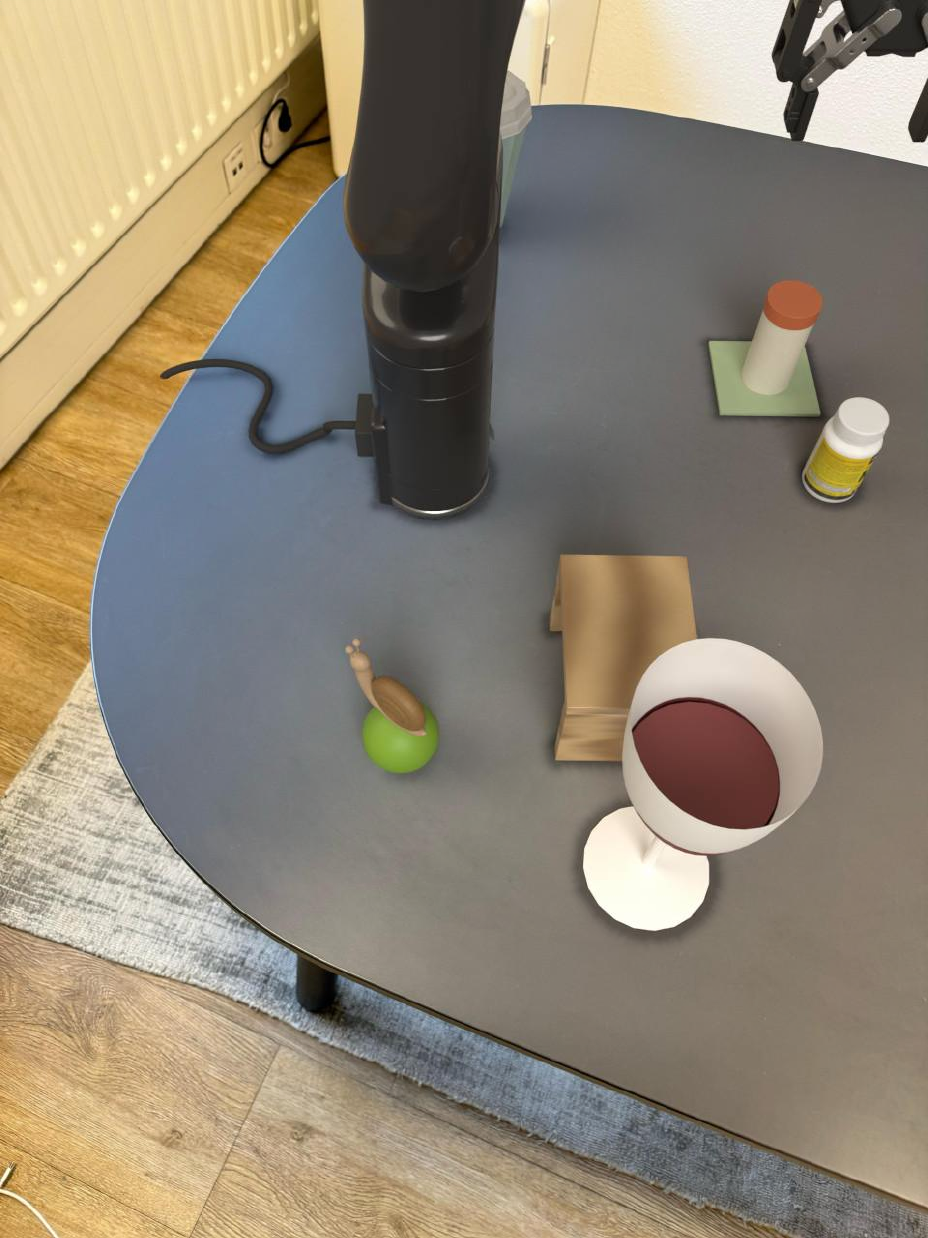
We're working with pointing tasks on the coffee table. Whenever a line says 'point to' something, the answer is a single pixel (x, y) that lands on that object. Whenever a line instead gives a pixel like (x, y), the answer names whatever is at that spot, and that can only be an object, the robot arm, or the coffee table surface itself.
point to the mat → (749, 403)
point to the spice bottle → (780, 336)
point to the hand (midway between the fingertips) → (854, 135)
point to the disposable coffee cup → (512, 131)
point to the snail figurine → (393, 720)
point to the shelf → (613, 641)
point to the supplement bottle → (845, 450)
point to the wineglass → (700, 776)
